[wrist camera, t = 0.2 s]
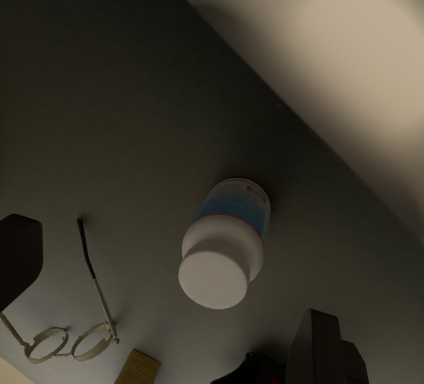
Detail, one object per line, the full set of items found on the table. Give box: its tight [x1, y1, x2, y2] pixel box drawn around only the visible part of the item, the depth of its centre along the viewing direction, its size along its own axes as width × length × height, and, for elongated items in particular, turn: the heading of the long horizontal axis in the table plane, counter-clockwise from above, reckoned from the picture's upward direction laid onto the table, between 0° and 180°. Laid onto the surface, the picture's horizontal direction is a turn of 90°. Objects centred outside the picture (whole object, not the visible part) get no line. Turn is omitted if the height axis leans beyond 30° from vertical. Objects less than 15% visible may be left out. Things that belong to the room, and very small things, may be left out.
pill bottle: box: [179, 178, 271, 309], centre depth 28 cm, size 6×6×11 cm
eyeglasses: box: [0, 218, 119, 364], centre depth 40 cm, size 17×15×5 cm
